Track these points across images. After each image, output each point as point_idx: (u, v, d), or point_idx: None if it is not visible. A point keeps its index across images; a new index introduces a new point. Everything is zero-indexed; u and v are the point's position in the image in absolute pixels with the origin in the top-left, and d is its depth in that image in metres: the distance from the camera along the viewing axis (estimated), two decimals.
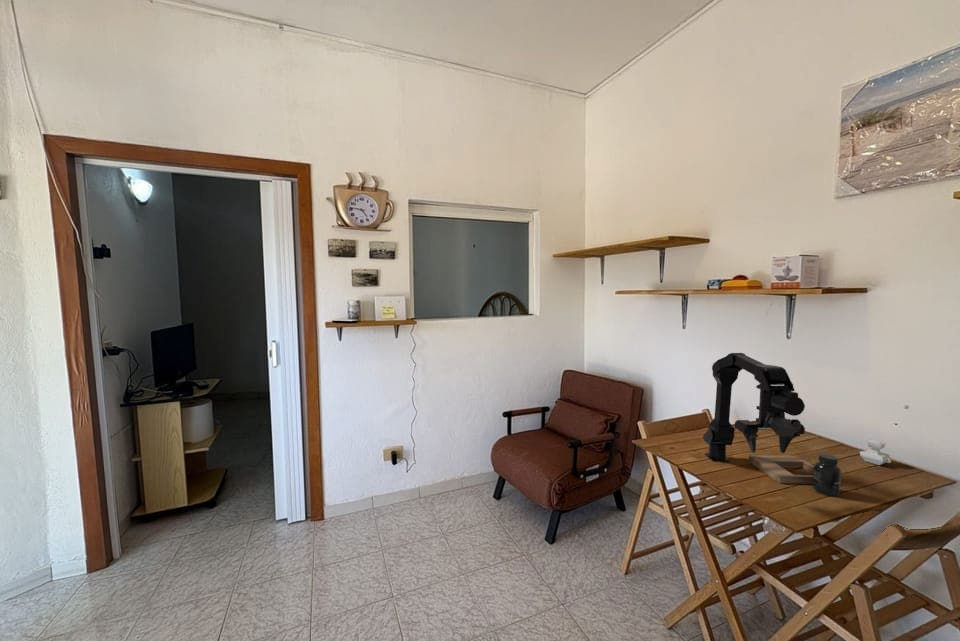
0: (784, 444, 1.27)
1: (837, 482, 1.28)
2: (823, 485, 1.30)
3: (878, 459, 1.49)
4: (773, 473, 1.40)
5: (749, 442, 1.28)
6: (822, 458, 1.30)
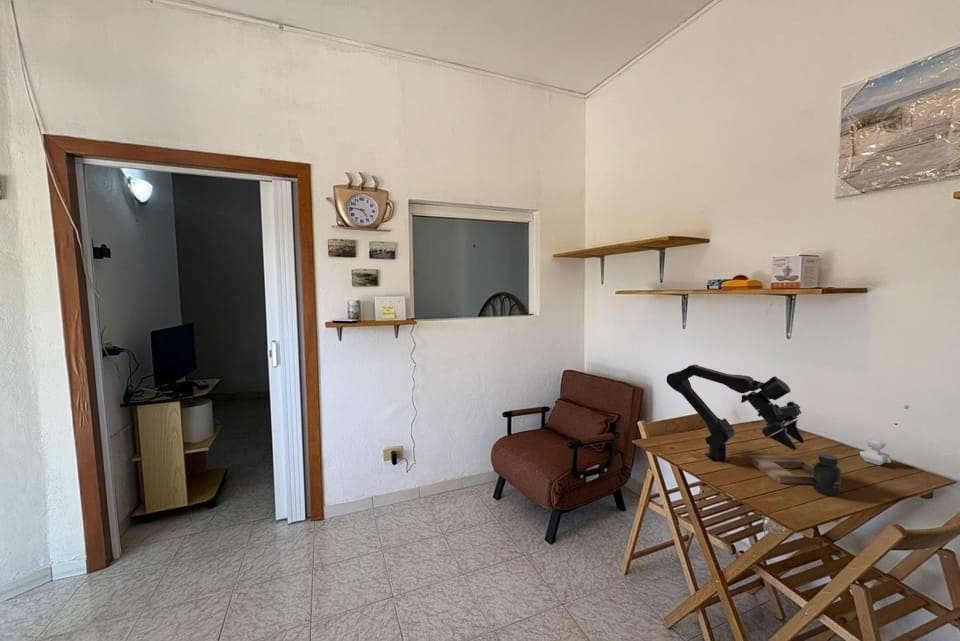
0: (798, 433, 1.40)
1: (837, 482, 1.28)
2: (823, 485, 1.30)
3: (878, 459, 1.49)
4: (773, 473, 1.40)
5: (785, 442, 1.35)
6: (822, 458, 1.30)
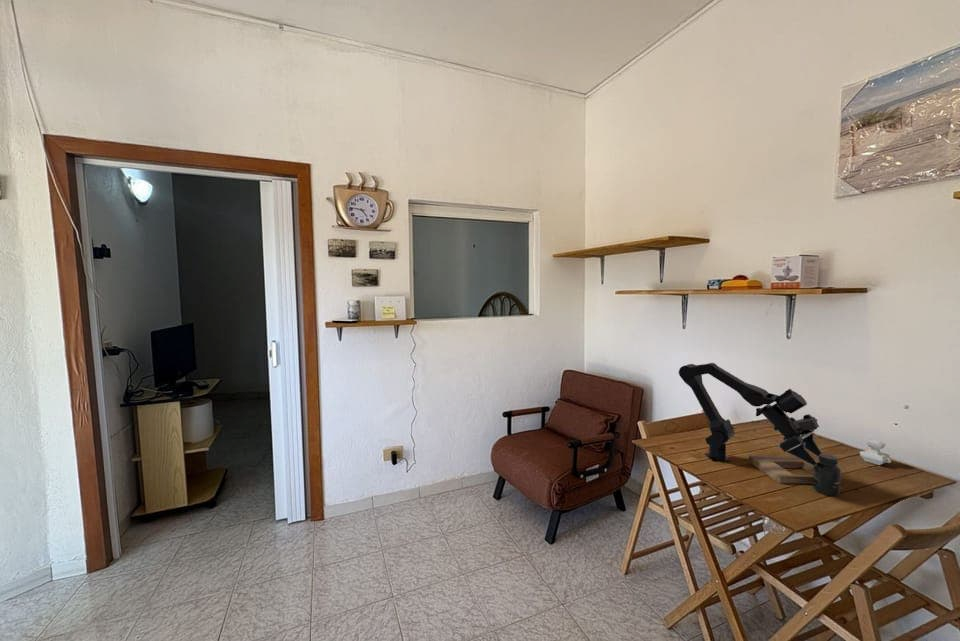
0: (815, 447, 1.37)
1: (837, 482, 1.28)
2: (823, 485, 1.30)
3: (878, 459, 1.49)
4: (773, 473, 1.40)
5: (804, 456, 1.31)
6: (822, 458, 1.30)
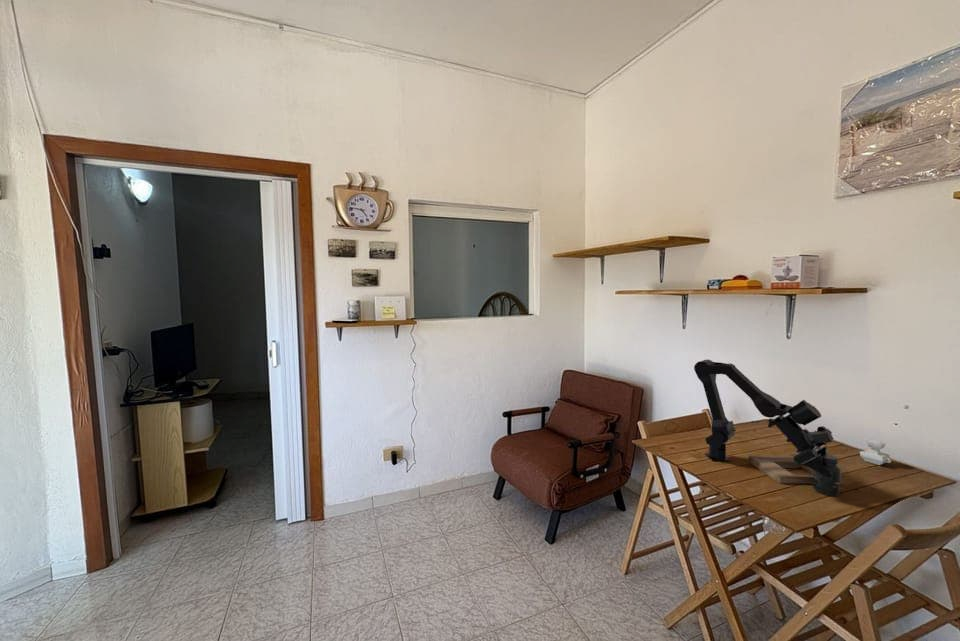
0: None
1: (837, 482, 1.28)
2: (823, 484, 1.30)
3: (878, 459, 1.49)
4: (773, 473, 1.40)
5: (819, 469, 1.29)
6: (822, 458, 1.30)
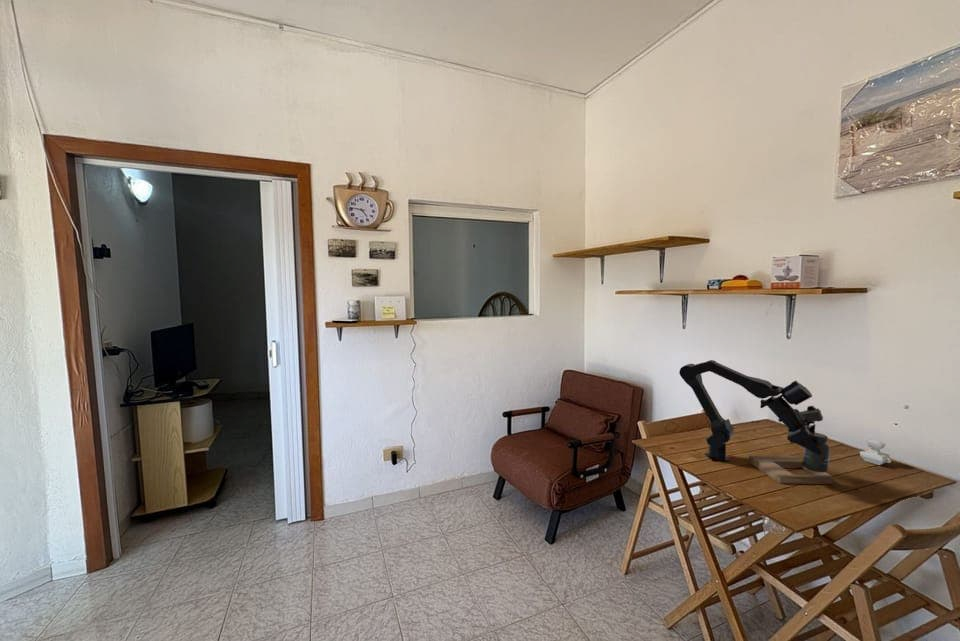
0: None
1: (826, 458, 1.32)
2: (813, 462, 1.33)
3: (878, 459, 1.49)
4: (773, 473, 1.40)
5: (811, 447, 1.33)
6: (813, 436, 1.34)
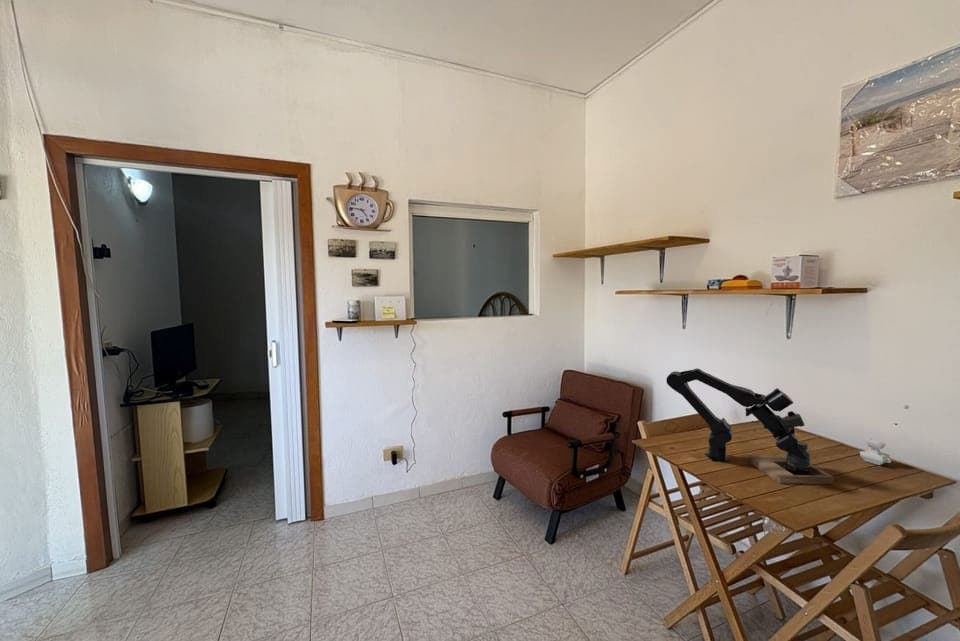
0: None
1: (808, 465, 1.40)
2: (797, 469, 1.40)
3: (878, 459, 1.49)
4: (773, 473, 1.40)
5: (797, 452, 1.38)
6: None
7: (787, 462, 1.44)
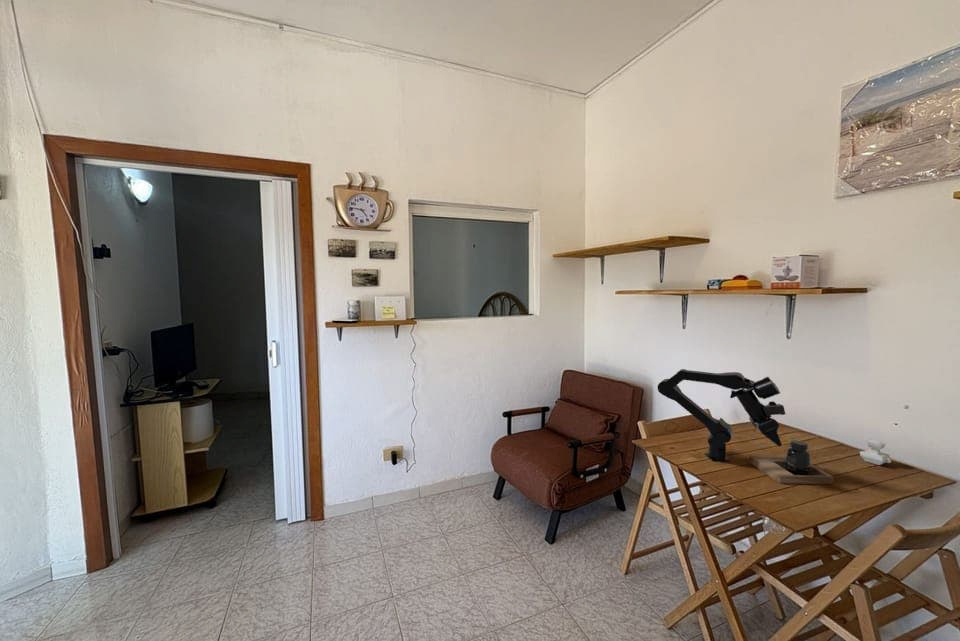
0: None
1: (808, 465, 1.40)
2: (797, 469, 1.40)
3: (878, 459, 1.49)
4: (773, 473, 1.40)
5: (774, 438, 1.41)
6: (795, 445, 1.41)
7: (787, 462, 1.44)
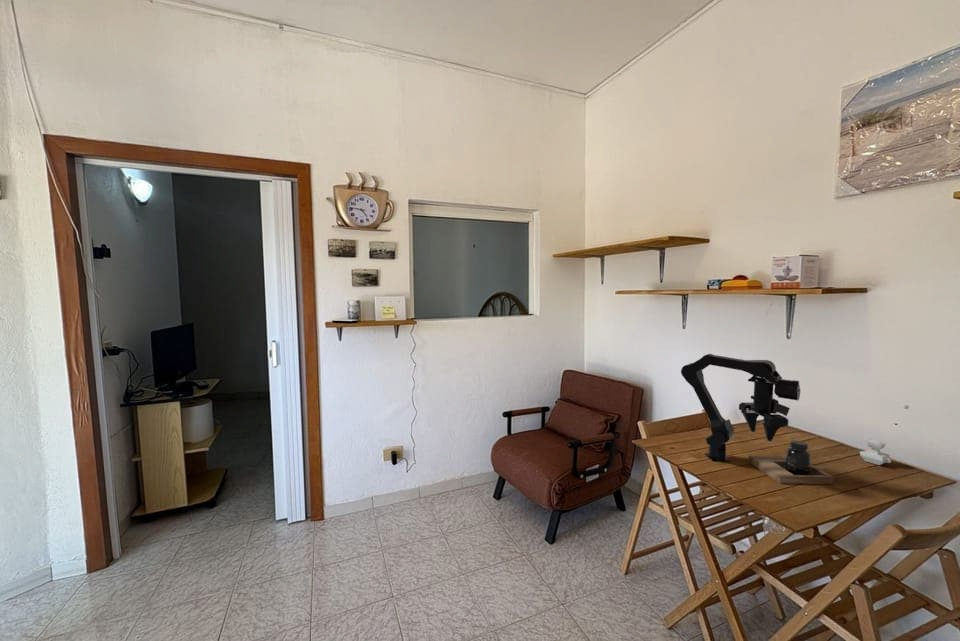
0: (755, 423, 1.50)
1: (808, 465, 1.40)
2: (797, 469, 1.40)
3: (878, 459, 1.49)
4: (773, 473, 1.40)
5: (771, 433, 1.40)
6: (795, 445, 1.41)
7: (787, 462, 1.44)
